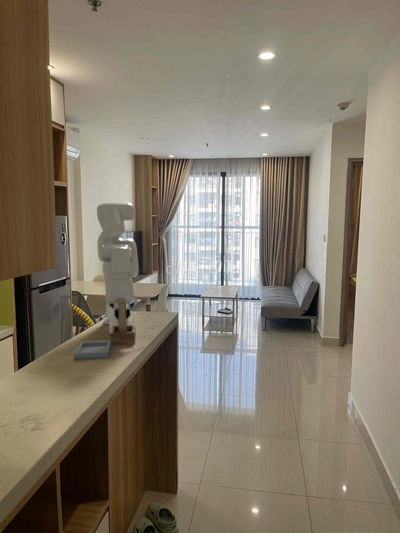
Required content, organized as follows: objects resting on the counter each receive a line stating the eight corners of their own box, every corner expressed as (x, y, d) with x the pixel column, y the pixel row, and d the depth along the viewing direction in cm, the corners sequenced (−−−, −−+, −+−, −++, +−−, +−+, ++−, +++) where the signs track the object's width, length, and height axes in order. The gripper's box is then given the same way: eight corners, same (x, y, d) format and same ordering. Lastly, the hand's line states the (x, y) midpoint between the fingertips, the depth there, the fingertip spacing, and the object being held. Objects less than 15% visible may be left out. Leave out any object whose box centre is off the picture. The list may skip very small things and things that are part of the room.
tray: (81, 347, 159) (80, 341, 158) (111, 346, 160) (111, 340, 160) (74, 360, 145) (74, 354, 145) (107, 358, 146) (107, 352, 146)
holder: (112, 337, 172) (112, 326, 172) (135, 336, 174) (135, 325, 173) (110, 345, 162) (109, 333, 161) (134, 344, 163) (134, 332, 162)
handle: (130, 329, 171) (129, 296, 169) (126, 334, 165) (125, 299, 162) (119, 329, 171) (118, 296, 169) (115, 334, 165) (113, 299, 163)
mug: (137, 329, 184) (136, 304, 182) (131, 335, 175) (130, 309, 174) (113, 328, 185) (112, 304, 184) (106, 334, 177) (105, 308, 175)
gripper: (141, 274, 169) (142, 315, 172) (101, 275, 167) (103, 316, 170) (140, 277, 162) (142, 319, 164) (99, 278, 159) (101, 321, 162)
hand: (122, 317), depth 167 cm, fingers closed on handle, 3 cm apart
